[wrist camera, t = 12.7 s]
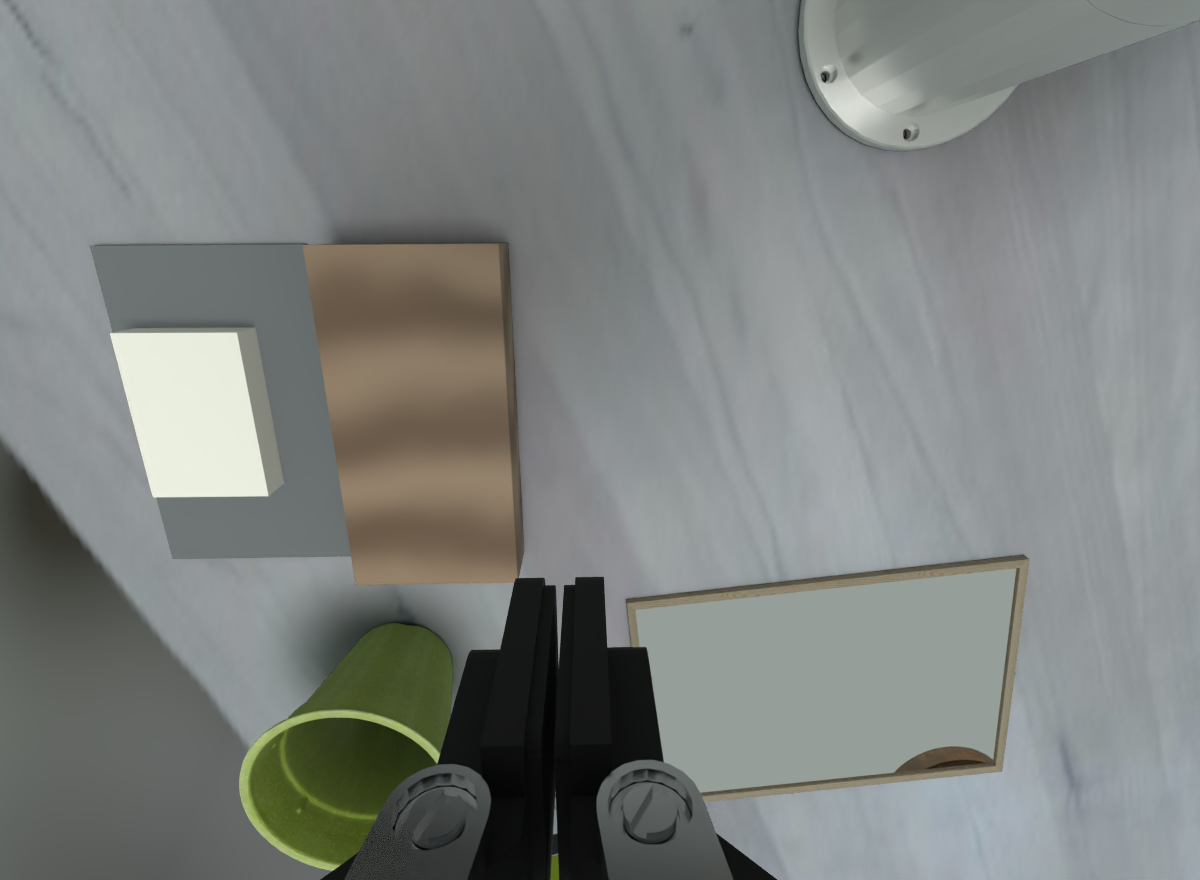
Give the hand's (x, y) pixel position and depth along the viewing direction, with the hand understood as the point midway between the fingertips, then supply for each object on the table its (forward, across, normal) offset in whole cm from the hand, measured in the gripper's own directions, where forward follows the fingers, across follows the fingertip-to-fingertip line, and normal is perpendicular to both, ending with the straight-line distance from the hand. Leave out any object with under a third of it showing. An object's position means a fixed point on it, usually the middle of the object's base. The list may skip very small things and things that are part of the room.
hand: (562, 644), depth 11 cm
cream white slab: (+25, +23, +3) cm, 34 cm away
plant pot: (+27, +13, +22) cm, 37 cm away
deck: (+27, +9, +3) cm, 29 cm away
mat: (+27, +22, +3) cm, 35 cm away
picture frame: (+28, -18, +25) cm, 41 cm away
